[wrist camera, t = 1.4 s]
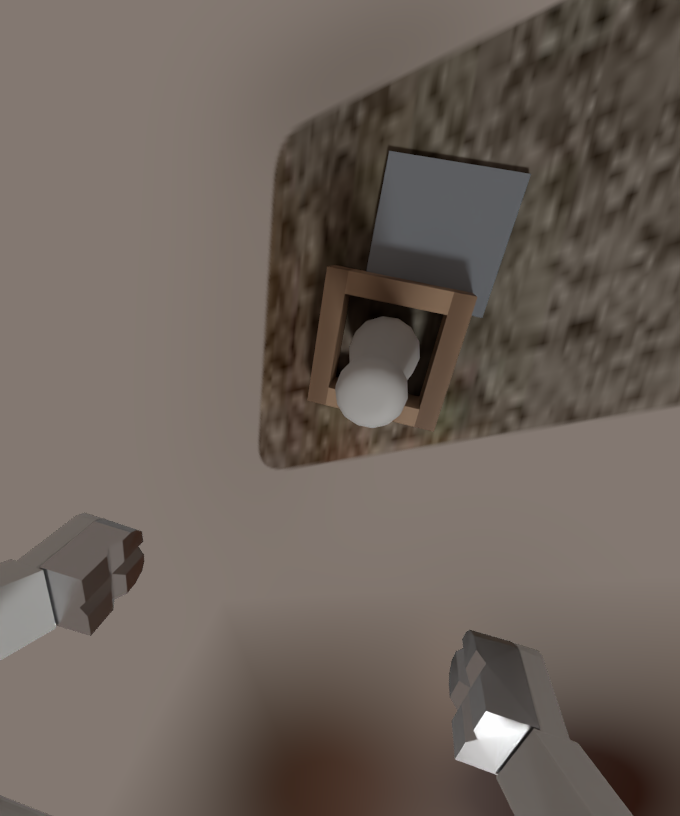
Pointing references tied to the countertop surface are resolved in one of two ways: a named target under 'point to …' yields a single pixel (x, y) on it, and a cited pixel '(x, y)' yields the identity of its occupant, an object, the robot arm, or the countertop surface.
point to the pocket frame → (398, 292)
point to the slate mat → (445, 223)
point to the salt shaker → (378, 372)
